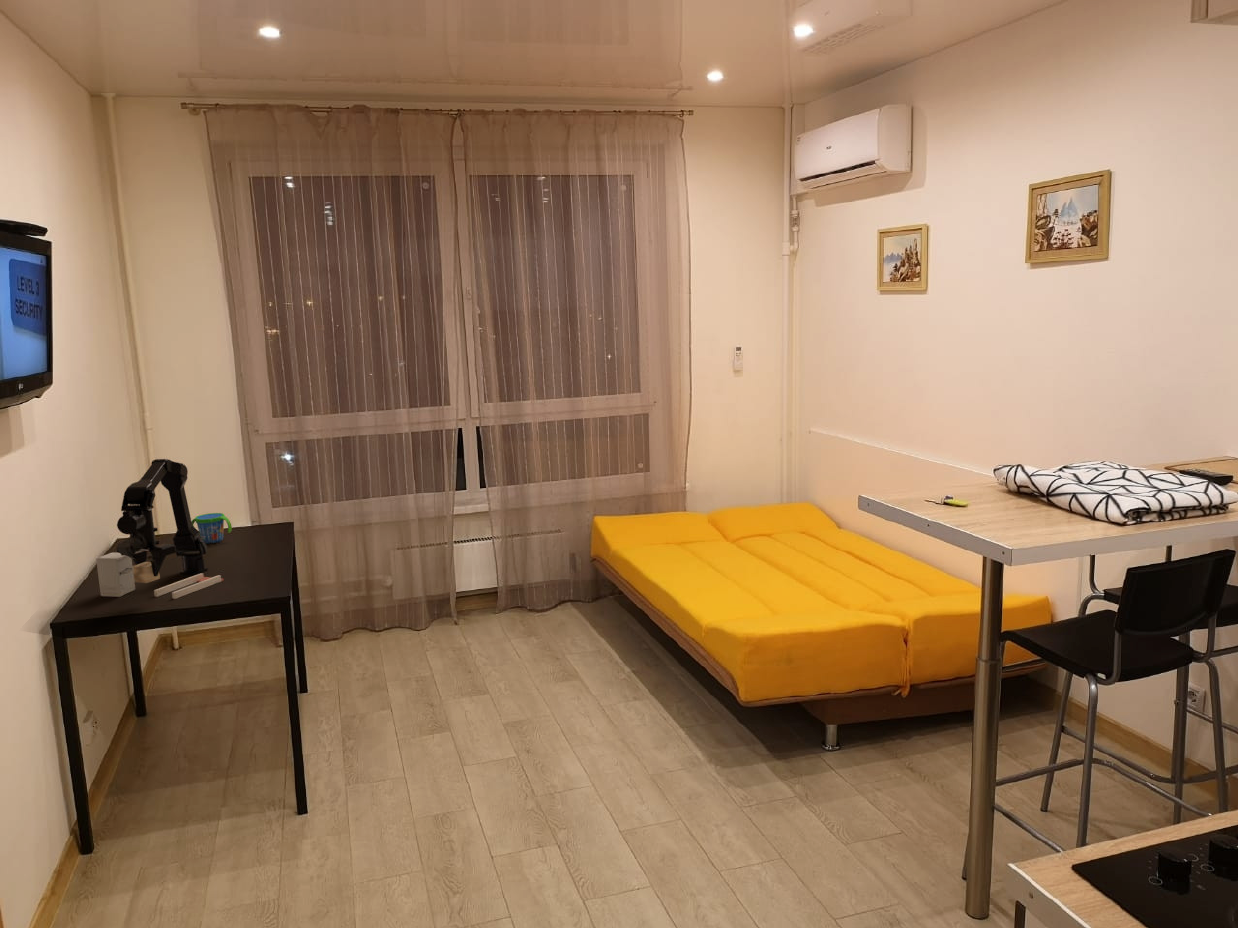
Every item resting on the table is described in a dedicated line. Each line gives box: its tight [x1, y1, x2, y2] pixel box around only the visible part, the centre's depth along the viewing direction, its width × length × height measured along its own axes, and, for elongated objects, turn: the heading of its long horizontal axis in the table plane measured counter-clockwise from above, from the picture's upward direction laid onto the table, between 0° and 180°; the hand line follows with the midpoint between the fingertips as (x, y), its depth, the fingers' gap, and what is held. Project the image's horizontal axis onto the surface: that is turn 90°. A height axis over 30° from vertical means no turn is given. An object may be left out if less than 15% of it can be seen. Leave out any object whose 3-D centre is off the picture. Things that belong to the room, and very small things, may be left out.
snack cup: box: [191, 512, 233, 544], centre depth 365 cm, size 16×10×10 cm
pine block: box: [132, 561, 161, 584], centre depth 291 cm, size 5×5×5 cm
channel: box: [153, 572, 225, 600], centre depth 306 cm, size 9×20×2 cm, turn 158°
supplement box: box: [95, 552, 136, 598], centre depth 303 cm, size 7×7×13 cm
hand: (149, 575), depth 292 cm, fingers closed on pine block, 5 cm apart
